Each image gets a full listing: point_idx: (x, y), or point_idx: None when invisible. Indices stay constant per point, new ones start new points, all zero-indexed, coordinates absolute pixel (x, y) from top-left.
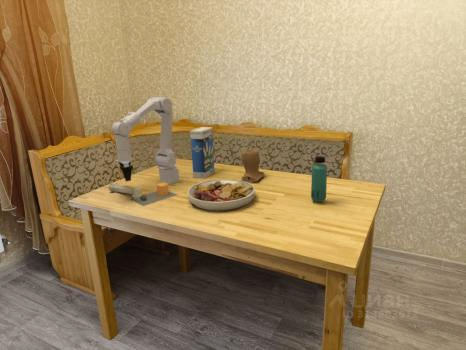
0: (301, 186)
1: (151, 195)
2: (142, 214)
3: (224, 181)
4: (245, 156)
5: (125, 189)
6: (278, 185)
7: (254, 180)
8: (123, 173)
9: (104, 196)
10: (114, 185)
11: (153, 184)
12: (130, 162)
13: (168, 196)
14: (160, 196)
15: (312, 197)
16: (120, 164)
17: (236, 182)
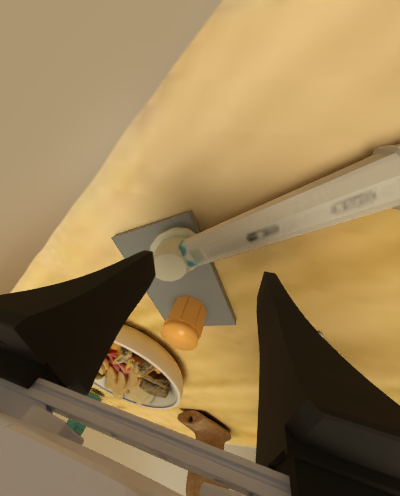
0: (147, 414)
1: (193, 282)
2: (75, 220)
3: (170, 400)
4: (194, 487)
5: (236, 221)
6: (160, 410)
7: (180, 414)
8: (80, 279)
9: (365, 77)
10: (398, 170)
11: (335, 326)
12: (258, 445)
13: (164, 309)
14: (172, 296)
15: (89, 396)
16: (292, 378)
17: (157, 402)
